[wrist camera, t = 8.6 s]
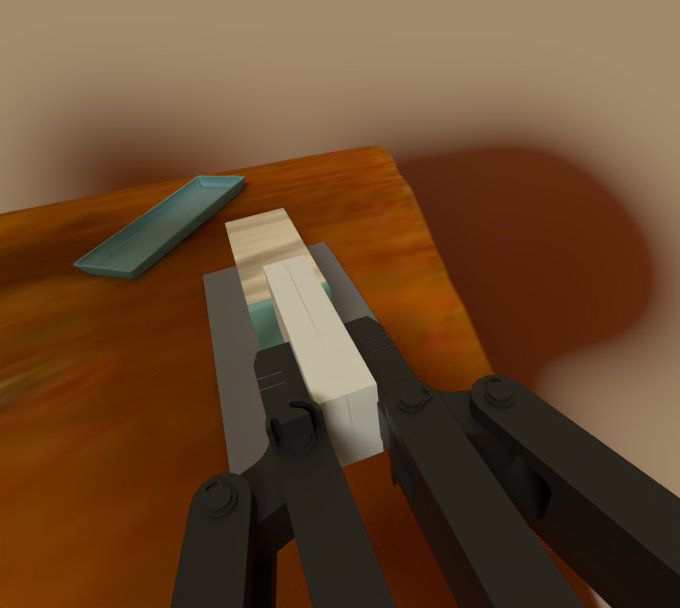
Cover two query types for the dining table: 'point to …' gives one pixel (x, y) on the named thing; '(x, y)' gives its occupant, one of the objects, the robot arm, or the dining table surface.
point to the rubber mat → (242, 345)
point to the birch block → (263, 249)
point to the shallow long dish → (160, 228)
